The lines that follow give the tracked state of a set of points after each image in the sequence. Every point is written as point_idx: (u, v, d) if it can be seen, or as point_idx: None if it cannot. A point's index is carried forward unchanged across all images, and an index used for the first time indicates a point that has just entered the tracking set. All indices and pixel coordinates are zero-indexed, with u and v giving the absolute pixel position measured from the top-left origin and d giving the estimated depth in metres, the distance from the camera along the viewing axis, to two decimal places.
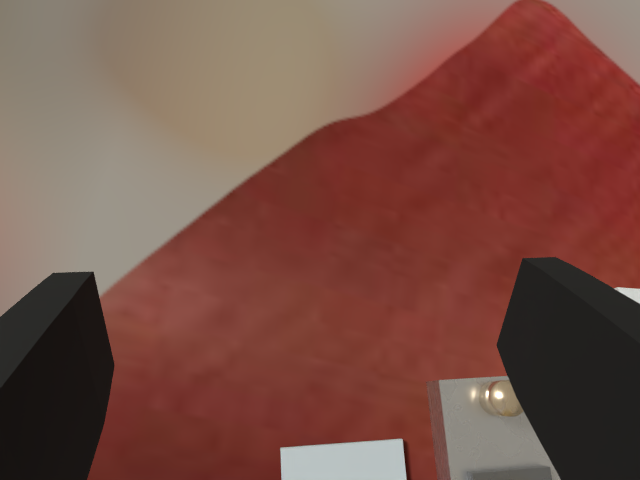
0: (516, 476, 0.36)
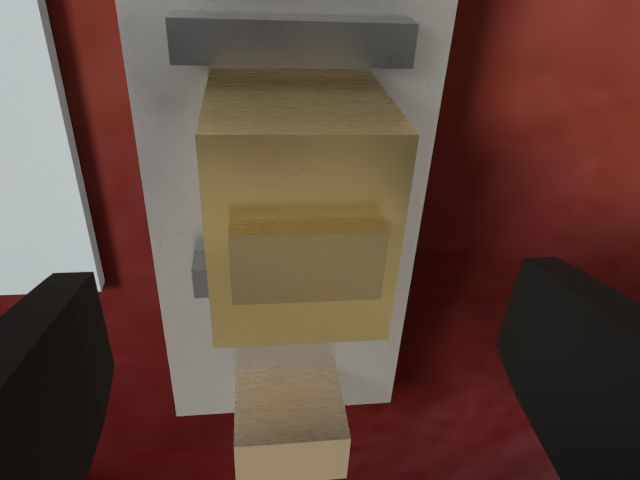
0: (307, 41, 0.12)
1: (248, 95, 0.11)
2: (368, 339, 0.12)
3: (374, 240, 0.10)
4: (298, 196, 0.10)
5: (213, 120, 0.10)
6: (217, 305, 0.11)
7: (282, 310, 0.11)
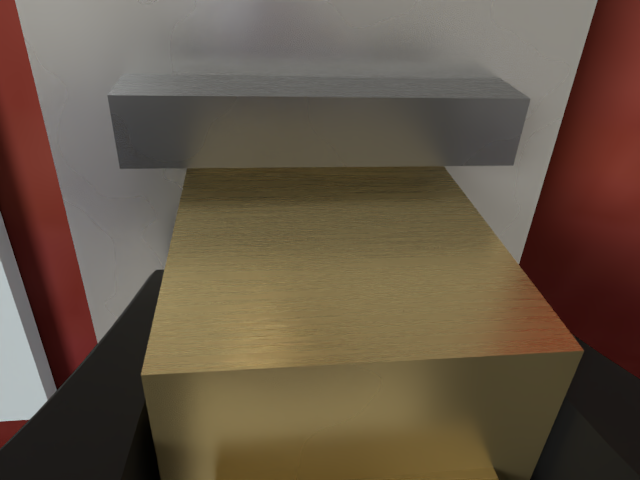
0: (348, 128, 0.07)
1: (249, 231, 0.06)
2: None
3: None
4: (343, 452, 0.05)
5: (183, 318, 0.05)
6: None
7: None
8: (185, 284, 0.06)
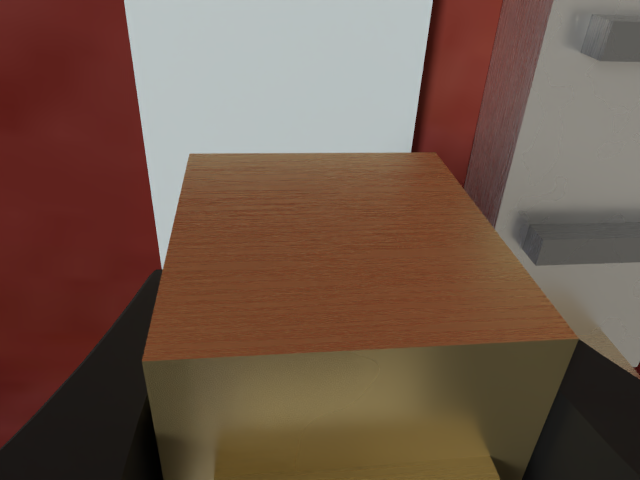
0: None
1: (249, 223, 0.07)
2: None
3: None
4: (342, 439, 0.05)
5: (182, 306, 0.05)
6: None
7: None
8: (185, 274, 0.06)
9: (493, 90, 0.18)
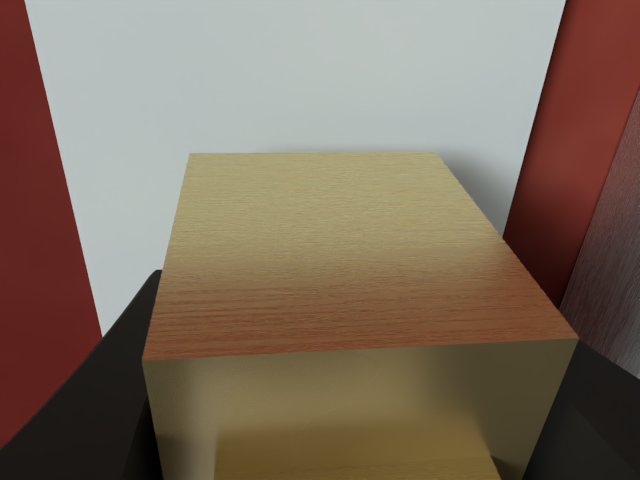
0: None
1: (248, 223, 0.07)
2: None
3: None
4: (342, 438, 0.05)
5: (182, 307, 0.05)
6: None
7: None
8: (185, 273, 0.06)
9: (625, 190, 0.11)
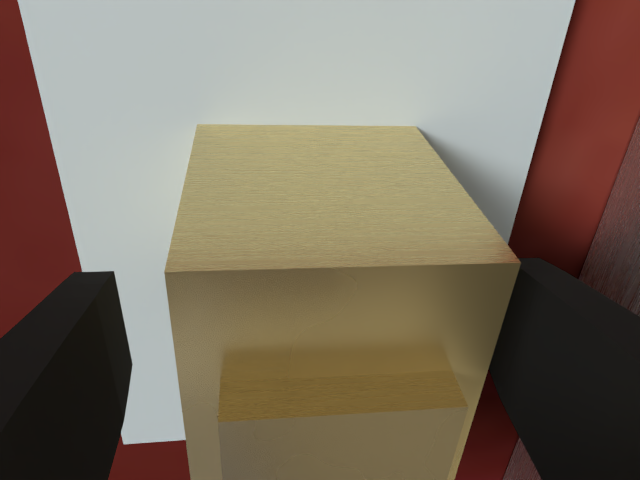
0: None
1: (250, 178, 0.08)
2: None
3: (444, 417, 0.06)
4: (327, 350, 0.06)
5: (195, 236, 0.06)
6: None
7: None
8: (197, 213, 0.07)
9: (634, 195, 0.11)
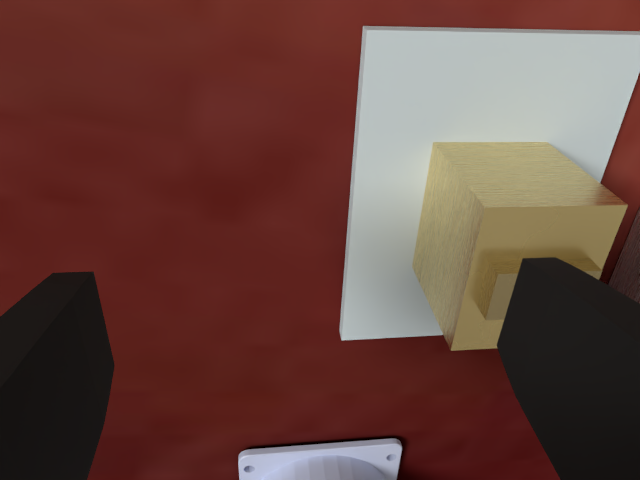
0: None
1: (485, 170, 0.16)
2: None
3: None
4: (538, 245, 0.14)
5: (484, 194, 0.14)
6: (463, 320, 0.16)
7: None
8: (476, 185, 0.15)
9: None
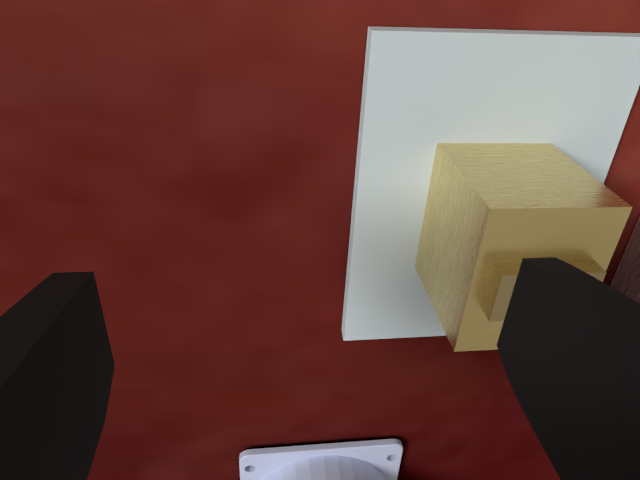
0: None
1: (489, 171, 0.16)
2: None
3: (595, 277, 0.14)
4: (543, 247, 0.14)
5: (489, 195, 0.14)
6: (466, 321, 0.16)
7: None
8: (481, 187, 0.15)
9: None
